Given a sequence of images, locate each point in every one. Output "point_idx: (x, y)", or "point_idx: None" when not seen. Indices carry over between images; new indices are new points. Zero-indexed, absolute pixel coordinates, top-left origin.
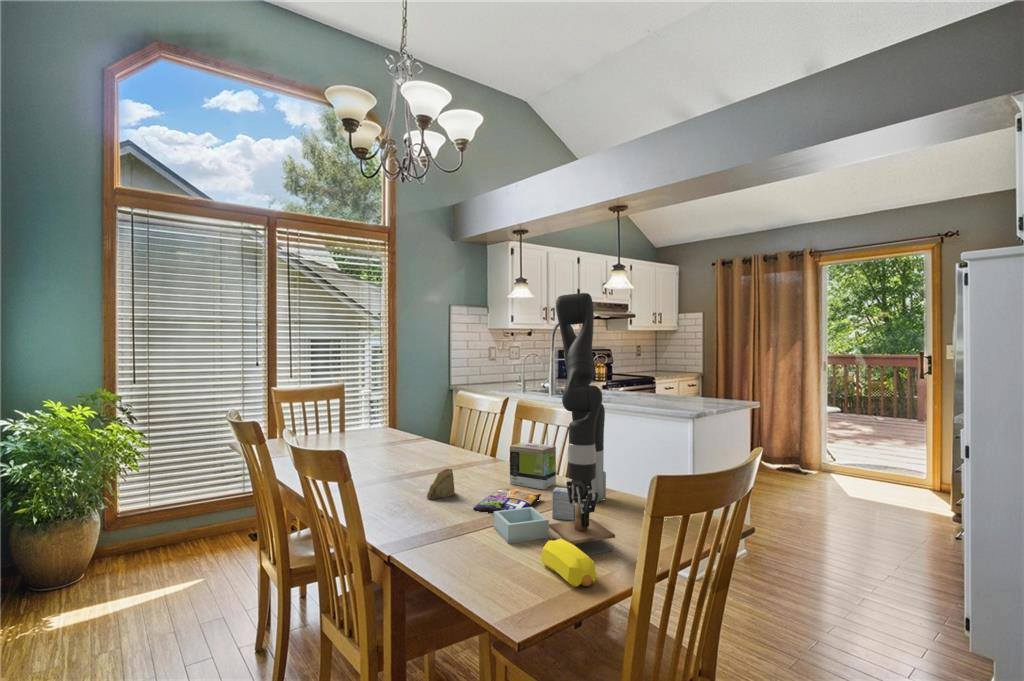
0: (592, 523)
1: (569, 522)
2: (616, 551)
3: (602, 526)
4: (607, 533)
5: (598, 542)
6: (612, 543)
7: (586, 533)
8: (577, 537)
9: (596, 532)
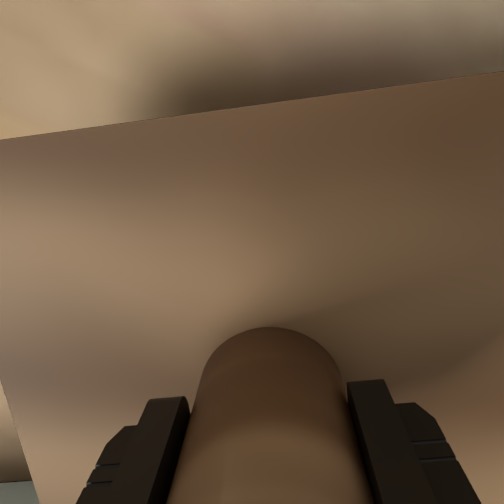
0: (107, 196)
1: (44, 430)
2: (474, 65)
3: (237, 109)
4: (496, 150)
5: None
6: (288, 19)
7: (409, 386)
8: (480, 501)
9: (415, 270)
